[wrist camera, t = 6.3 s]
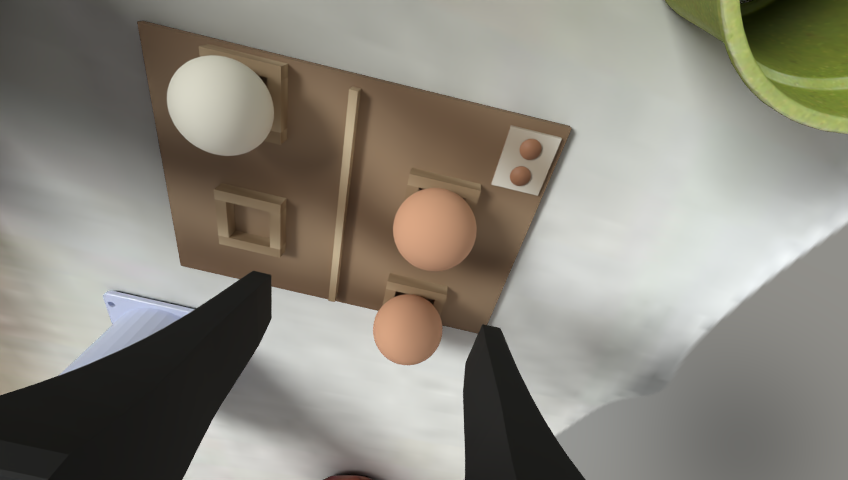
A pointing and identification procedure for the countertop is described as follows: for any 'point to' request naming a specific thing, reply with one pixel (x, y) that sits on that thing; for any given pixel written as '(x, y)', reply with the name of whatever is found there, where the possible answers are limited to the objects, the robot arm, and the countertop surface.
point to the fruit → (347, 477)
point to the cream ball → (220, 105)
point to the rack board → (349, 181)
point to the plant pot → (784, 53)
